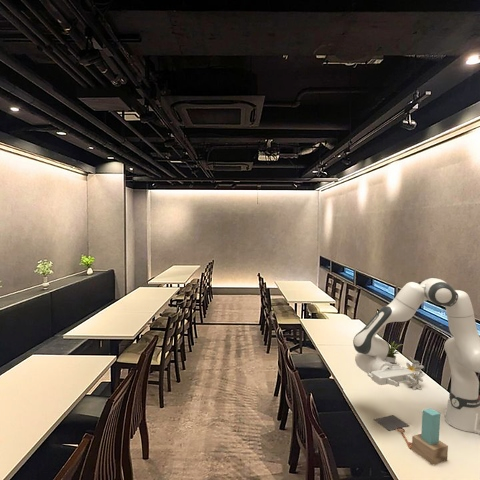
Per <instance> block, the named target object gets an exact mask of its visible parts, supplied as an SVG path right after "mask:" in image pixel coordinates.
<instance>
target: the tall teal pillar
mask: <svg viewBox="0 0 480 480" xmlns="http://www.w3.org/2000/svg"><path fill="white" fill-rule="evenodd" d="M440 429H441V413H440V412H439V411H436V410H435V409H433V408H426V409H422V416H421V432H420V434H421V439H422V440H424V441H425V442H427V443H428V444H430V445H433V444H436V443H439V440H440Z"/></svg>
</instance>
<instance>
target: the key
mask: <svg viewBox="0 0 480 480" xmlns="http://www.w3.org/2000/svg"><path fill="white" fill-rule="evenodd" d="M396 431H397V432H399V433H401V435H402V437H403V439H404V441H405V442H406V445H407V446H408V449H410V450H412V441H411V442H410V441H408V439H407V437H406V435H405V434H404V433H405V432H406V429H404V428H400V427H397V428H396Z"/></svg>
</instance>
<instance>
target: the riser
mask: <svg viewBox="0 0 480 480" xmlns="http://www.w3.org/2000/svg"><path fill="white" fill-rule="evenodd" d="M411 437H412V438H411V443H412V449H411V451H412V452H414V453H415V454H417V455H418V456H419V457H421V458H423V460H425V461H426V462H428V463H429V464H430V465H432V466H433V465H437V464H440V463H444V462H447V461H448V450H449V445H447V444H446V443H444V442H442V441H441V440H440V439H439V443H436V444H433V445H430V444H428V443H427V442H425V441H424V440H422V439H421V433H419V434H414V435H412V436H411Z"/></svg>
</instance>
